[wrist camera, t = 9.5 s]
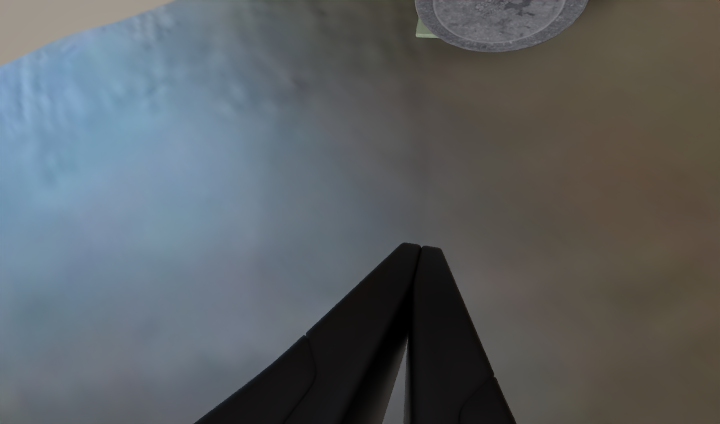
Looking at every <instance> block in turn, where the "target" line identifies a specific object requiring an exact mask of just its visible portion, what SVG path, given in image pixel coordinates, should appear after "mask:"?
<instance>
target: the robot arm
mask: <svg viewBox="0 0 720 424" xmlns="http://www.w3.org/2000/svg"><path fill="white" fill-rule="evenodd" d="M407 339H408V344H407ZM406 344H407V358H406V381H405V404H404V424H516V422H515V419H514V417H513V415H512V413H511V411H510V409H509V406H508V404H507V402H506V400H505V398H504V395H503V393H502V391H501V388H500V386H499V384H498V381H497V379H496V378H495V377H494V372H493V370H492V368H491V365H490V363H489V360H488V358H487V356H486V353H485V351H484V349H483V346H482V344H481V342H480V339H479V337H478V334H477V332H476V330H475V327H474V325H473V323H472V320H471V318H470V316H469V313H468V311H467V308H466V306H465V304H464V301H463V299H462V297H461V294H460V292H459V289H458V287H457V285H456V282H455V280H454V278H453V275H452V273H451V271H450V268H449V266H448V263H447V261H446V259H445V256H444V254H443V252H442V250H441V249H440V248H437V247H430V246H423V247H422V248H421V246H420V245H418V244H411V243H402V244H400V245H399V246H398V247H397V248H396V249H395V250H394V251H393V252H392V253H391V254H390V255H389V256H388V257H387V258H386V259H384V260H383V261H382V262H381V263H380V264H379V265H378V266H377V267H376V268H375V269H374V270H373V271H372V272H371V273H370V274H368V275H367V276H366V277H365V278H364V279H363V280H362V281H361V282H360V283H359V284H358V285H357V286H356V287H355V288H353V289H352V290H351V291H350V292H349V293H348V294H347V295H346V296H345V297H344V298H343V299H342V300H341V301H340V302H339V303H337V304H336V305H335V306H334V307H333V308H332V309H331V310H330V311H329V312H328V313H327V314H326V315H325V316H324V317H323V318H321V319H320V320H319V321H318V322H317V323H316V324H315V325H314V326H313V327H312V328H311V329H310V330H309V331H308V332H307V333H306V335H303V336H302V337H301V338H300V339H299V340H298V341H297V342H296V343H295V344H293V345H292V346H291V347H290V348H289V349H288V350H287V351H286V352H285V353H283V354H282V355H281V356H280V357H279V358H278V359H277V360H276V361H274V362H273V363H272V364H271V365H270V366H269V367H267V368H266V369H265V370H263V371H262V372H261V373H260V374H258V375H257V376H256V377H255V378H253V379H252V380H251V381H250V382H248V383H247V384H246V385H244V386H243V387H242V388H240V389H239V390H238V391H236V392H235V393H234V394H232V395H231V396H230V397H228V398H227V399H226V400H224V401H223V402H222V403H220V404H219V405H218V406H216V407H215V408H214V409H212V410H211V411H210V412H208V413H207V414H206V415H204V416H203V417H202V418H200V419H199V420H198V421H196V422H195V423H194V424H382V422H383V419H384V415H385V412H386V409H387V406H388V403H389V399H390V396H391V393H392V390H393V387H394V383H395V380H396V377H397V374H398V371H399V367H400V364H401V361H402V358H403V355H404V351H405V348H406Z"/></svg>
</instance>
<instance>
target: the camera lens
mask: <svg viewBox="0 0 720 424" xmlns="http://www.w3.org/2000/svg"><path fill="white" fill-rule="evenodd" d="M588 1H589V0H415V7H416V11H417V14H418V16H419V18H420V19H421V21H422V22H423V24H424V25H425V26H426V27H427V28H428V29H429V30H430V31H431V32H432V33H433V34H434V35H435V36H437V37H439V38H440V39H442V40H443V41H445V42H446V43H449V44H452V45H454V46H457V47H459V48H463V49H467V50H473V51H481V52H504V51H512V50H519V49H523V48H527V47H531V46H534V45H537V44H540V43H542V42H545V41H547V40H549V39H551V38H553V37H555V36H556V35H558V34H559V33H561V32H562V31H564V30H565V29H567V28H568V27H569V26H570V25H571V24H572V23H573V22H574V21H575V20H576V19H577V18H578V17H579V16H580V15H581V13H582V12H583V10H584V9H585V7H586V5H587V3H588Z"/></svg>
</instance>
